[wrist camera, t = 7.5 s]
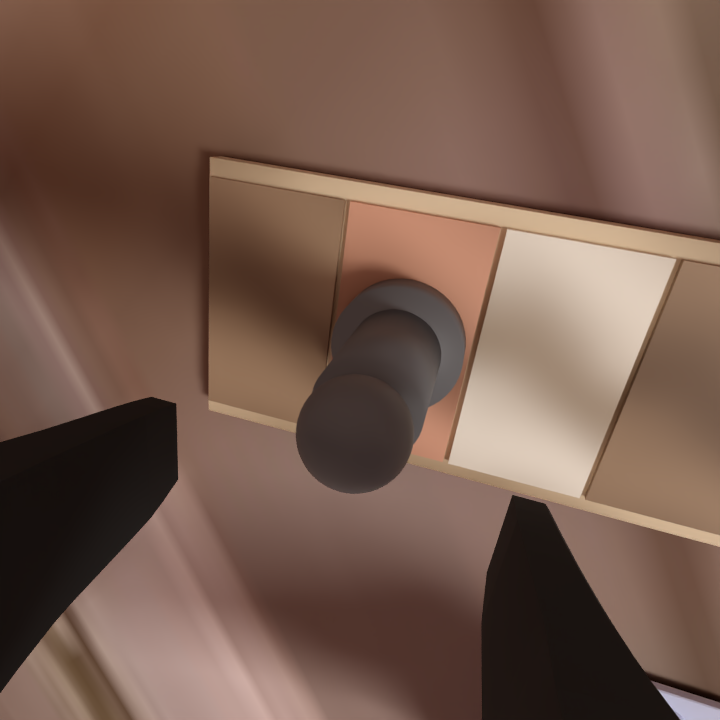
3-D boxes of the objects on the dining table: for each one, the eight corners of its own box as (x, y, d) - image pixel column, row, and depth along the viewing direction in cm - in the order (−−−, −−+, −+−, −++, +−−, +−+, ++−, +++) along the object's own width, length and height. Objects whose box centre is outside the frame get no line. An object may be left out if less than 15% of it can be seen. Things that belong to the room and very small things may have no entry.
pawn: (450, 409, 18) (420, 570, 11) (334, 381, 19) (240, 517, 12) (479, 293, 16) (462, 402, 9) (349, 267, 17) (246, 350, 10)
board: (871, 573, 18) (890, 596, 17) (218, 401, 22) (206, 411, 21) (1084, 301, 13) (1124, 313, 12) (221, 156, 18) (206, 157, 17)
